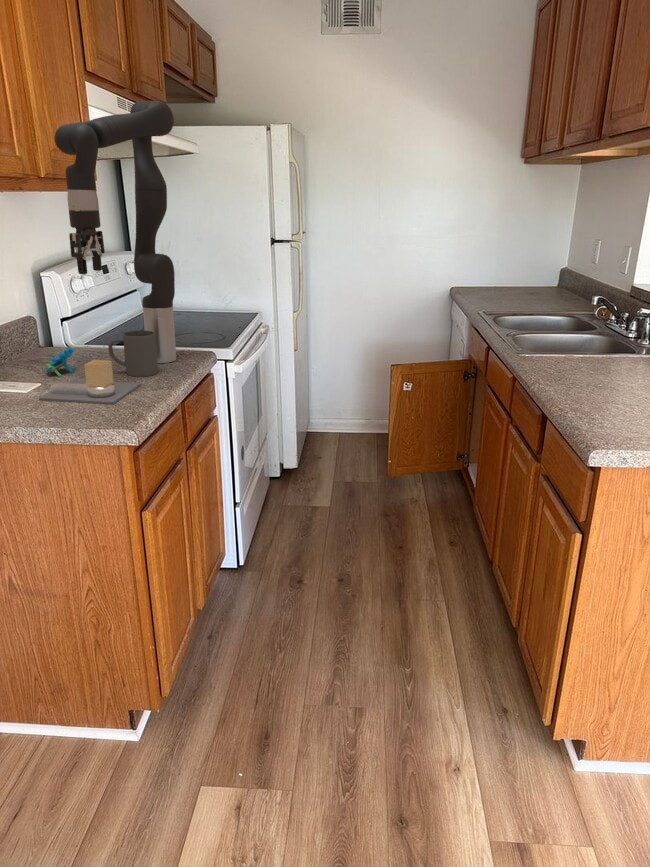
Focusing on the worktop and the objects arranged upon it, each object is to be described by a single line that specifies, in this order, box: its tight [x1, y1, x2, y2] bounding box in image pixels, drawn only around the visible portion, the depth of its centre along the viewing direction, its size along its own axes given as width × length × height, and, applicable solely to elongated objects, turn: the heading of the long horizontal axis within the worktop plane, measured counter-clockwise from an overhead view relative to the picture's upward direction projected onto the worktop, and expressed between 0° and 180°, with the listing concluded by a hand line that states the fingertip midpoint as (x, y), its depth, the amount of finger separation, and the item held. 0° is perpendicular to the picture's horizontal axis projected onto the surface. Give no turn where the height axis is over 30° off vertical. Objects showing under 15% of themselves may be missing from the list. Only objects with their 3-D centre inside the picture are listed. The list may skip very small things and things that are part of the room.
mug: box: [107, 329, 159, 378], centre depth 189 cm, size 14×9×12 cm
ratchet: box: [49, 382, 115, 398], centre depth 168 cm, size 7×16×6 cm, turn 83°
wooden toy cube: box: [84, 359, 115, 388], centre depth 166 cm, size 5×5×6 cm
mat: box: [38, 379, 142, 405], centre depth 171 cm, size 18×20×1 cm
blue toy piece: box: [45, 346, 75, 378], centre depth 189 cm, size 11×6×10 cm
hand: (90, 272), depth 173 cm, fingers open, 8 cm apart
